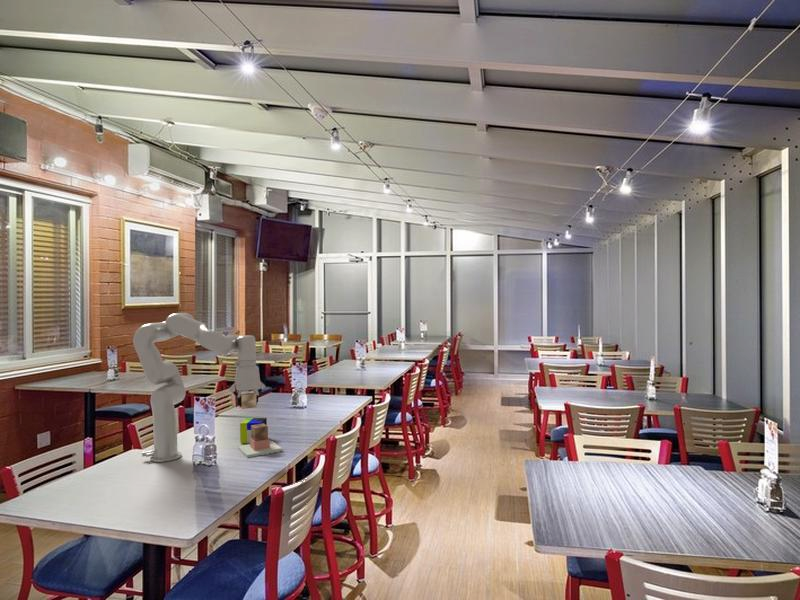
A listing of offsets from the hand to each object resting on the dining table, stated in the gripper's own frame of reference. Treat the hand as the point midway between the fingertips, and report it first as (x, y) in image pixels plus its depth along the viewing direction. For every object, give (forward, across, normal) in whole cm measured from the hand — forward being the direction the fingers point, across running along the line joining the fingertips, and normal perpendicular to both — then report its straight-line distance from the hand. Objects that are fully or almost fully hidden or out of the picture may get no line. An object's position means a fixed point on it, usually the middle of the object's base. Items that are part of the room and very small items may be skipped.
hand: (247, 404), depth 222 cm
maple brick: (+1, 0, 0) cm, 1 cm away
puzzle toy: (+24, +9, +27) cm, 37 cm away
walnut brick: (+18, +7, +10) cm, 22 cm away
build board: (+23, +7, +10) cm, 26 cm away
